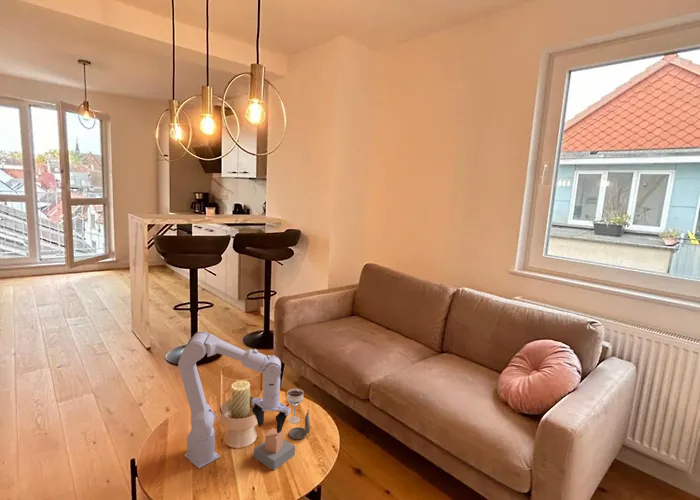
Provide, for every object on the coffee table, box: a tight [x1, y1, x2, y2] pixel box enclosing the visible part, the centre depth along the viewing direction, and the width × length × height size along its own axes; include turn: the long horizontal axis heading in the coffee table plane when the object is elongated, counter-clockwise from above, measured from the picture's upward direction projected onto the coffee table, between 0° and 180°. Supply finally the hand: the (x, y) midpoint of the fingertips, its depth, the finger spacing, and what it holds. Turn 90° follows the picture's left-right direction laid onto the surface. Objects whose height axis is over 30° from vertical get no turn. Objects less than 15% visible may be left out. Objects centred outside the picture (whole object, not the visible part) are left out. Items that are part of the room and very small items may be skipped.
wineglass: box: [286, 387, 305, 424], centre depth 160 cm, size 7×7×12 cm
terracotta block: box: [264, 427, 284, 453], centre depth 137 cm, size 4×4×6 cm
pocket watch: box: [288, 409, 311, 440], centre depth 151 cm, size 8×8×10 cm
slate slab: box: [253, 438, 296, 471], centre depth 138 cm, size 10×10×4 cm
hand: (270, 428), depth 137 cm, fingers open, 7 cm apart
